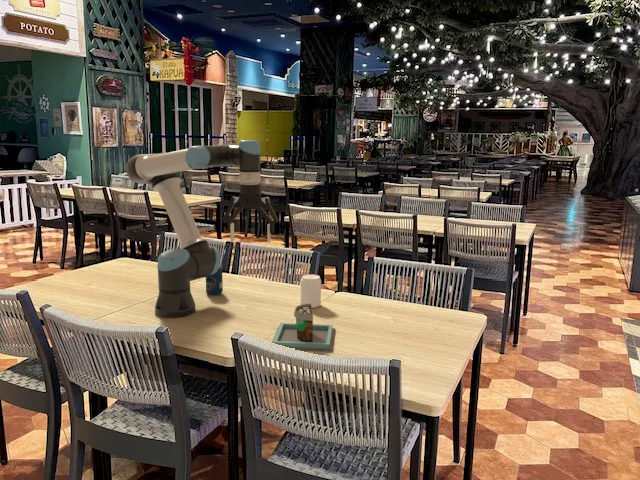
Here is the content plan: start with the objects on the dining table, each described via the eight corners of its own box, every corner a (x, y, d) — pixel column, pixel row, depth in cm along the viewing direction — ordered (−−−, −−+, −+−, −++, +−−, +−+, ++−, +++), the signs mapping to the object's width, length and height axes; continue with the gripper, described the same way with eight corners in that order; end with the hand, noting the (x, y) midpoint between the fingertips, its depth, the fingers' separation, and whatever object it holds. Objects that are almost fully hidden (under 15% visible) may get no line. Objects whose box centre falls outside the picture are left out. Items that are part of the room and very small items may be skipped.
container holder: (269, 348, 183) (269, 343, 183) (278, 327, 203) (278, 321, 202) (331, 351, 182) (331, 345, 181) (334, 329, 201) (334, 324, 201)
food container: (293, 330, 198) (293, 303, 196) (310, 330, 198) (311, 303, 196) (293, 344, 186) (294, 314, 184) (312, 343, 186) (313, 314, 184)
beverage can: (318, 309, 223) (318, 279, 220) (298, 307, 224) (298, 278, 222) (322, 303, 231) (322, 274, 228) (303, 301, 232) (303, 273, 230)
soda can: (202, 295, 239) (202, 267, 237) (211, 290, 246) (211, 264, 243) (217, 297, 237) (216, 269, 234) (225, 292, 243) (225, 265, 241)
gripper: (213, 183, 202) (214, 242, 206) (283, 185, 200) (283, 244, 204) (218, 181, 209) (219, 238, 213) (285, 183, 207) (285, 240, 211)
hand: (250, 241), depth 209 cm, fingers open, 13 cm apart
